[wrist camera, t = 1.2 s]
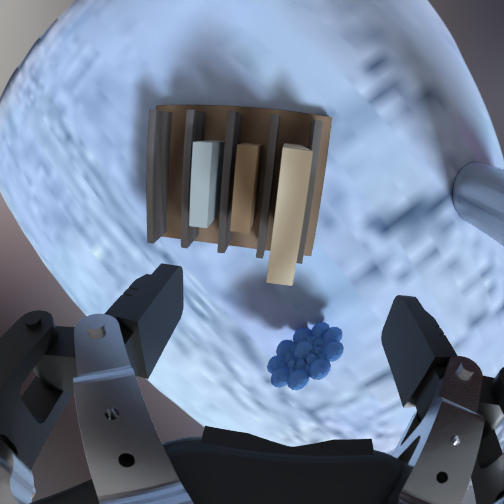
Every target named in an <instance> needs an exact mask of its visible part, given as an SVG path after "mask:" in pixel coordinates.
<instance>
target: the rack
mask: <svg viewBox="0 0 504 504" xmlns="http://www.w3.org/2000/svg"><path fill="white" fill-rule="evenodd" d="M331 121H332V117H326V116H320V115H314V114H307V113H300V112H293V111H285V110H276V109H266V108H254V107H240V106H221V105H157V106H156V110H150V113H149V127H148V146H147V183H146V203H147V241H148V243H154V242H156V241H157V240H158V239H159V238H160V237H161V236H162V237H170V238H177V239H181V247H182V248H188V247H189V246H190V244H191V243H192V242H193V241H201V242H208V243H216V244H218V252H219V253H225V251H226V249H227V247H228V245H231V246H239V247H246V248H254V249H257V253H256V258H263V256H264V251H265V250H269V251H270V250H271V242H272V234H273V226H274V218H275V210H276V202H277V193H278V185H279V176H280V168H281V159H282V150H283V146H284V143H289V144H297V145H302V146H304V147H306V148H308V149H309V150H311V151H313V155H312V163H311V171H310V178H309V185H308V192H307V199H306V206H305V213H304V219H303V226H302V232H301V238H300V245H299V251H298V257H297V262H296V263H301V264H302V260H303V255H306V256H311V254H312V249H313V243H314V238H315V232H316V226H317V220H318V214H319V208H320V202H321V196H322V189H323V182H324V176H325V169H326V161H327V154H328V146H329V138H330V130H331ZM208 140H214V141H225V148H224V160H223V173H222V187H221V201H220V214H219V215H218V216H217V217H216V218H215V220H214V221H213V222H212V223H211V224H210V225H209V227H208V228H201V227H192V226H189V218H190V189H191V168H192V151H193V142H196V141H208ZM243 143H253V144H263V154H262V164H261V174H260V183H259V193H258V203H257V213H256V217H255V220H254V222H253V225H252V228H251V230H250V233H241V232H233V231H230V228H231V214H232V201H233V188H234V176H235V164H236V153H237V144H243Z"/></svg>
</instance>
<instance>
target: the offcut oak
mask: <svg viewBox="0 0 504 504" xmlns="http://www.w3.org/2000/svg"><path fill="white" fill-rule="evenodd" d="M262 154H263V144H253V143H243V144H237V153H236V164H235V176H234V188H233V201H232V214H231V228H230V231H233V232H241V233H250V230H251V228H252V225H253V222H254V220H255V217H256V213H257V203H258V193H259V183H260V174H261V164H262Z"/></svg>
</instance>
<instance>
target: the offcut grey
mask: <svg viewBox="0 0 504 504" xmlns="http://www.w3.org/2000/svg"><path fill="white" fill-rule="evenodd" d="M224 148H225V141H214V140H208V141H196V142H193V151H192V168H191V189H190V218H189V226H192V227H201V228H208V227H209V225H210V224H211V223H212V222H213V221H214V220H215V218H216V217H217V216H218V215H219V214H220V201H221V187H222V173H223V160H224Z"/></svg>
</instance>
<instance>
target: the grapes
mask: <svg viewBox="0 0 504 504" xmlns="http://www.w3.org/2000/svg"><path fill="white" fill-rule="evenodd" d="M341 339H342V331H341V329H339V328H338V327H331V328H330V327H329V325H328V324H327V323H324V322H320V323H316V324H315V325H314V326H313V328H312V330H310V329H309V328H306V327H302V328H299V329H297V331H296V332H295V334H294V336H293V341H294V342H293V341H292V340H283V341H281V342H280V343H279V345H278V347H277V350H276V353H277V356H274V357H272V358H271V359H270V361H269V362H268V366H267V368H268V371H269V372H270V373H271V374H272V376H271V383H272V385H274V386H275V387H283V386H285V385H287V384H288V387H289V388H291V389H292V390H299V389H302V388H303V387H304V386H306V384H307V383H308V381H309V377H311V378H313V379H318V380H319V379H322V378H324V377H325V376H326V375H327V374H328V372H329V371H330V367H331V365H330V362H329V361H331V362H333V361H336V360H337V359H339V358H340V356H341V355H342V353H343V349H344V348H343V345H342V343H340V340H341Z"/></svg>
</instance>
